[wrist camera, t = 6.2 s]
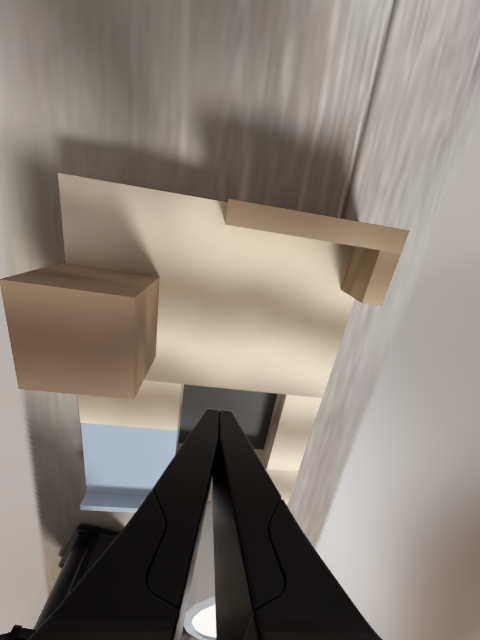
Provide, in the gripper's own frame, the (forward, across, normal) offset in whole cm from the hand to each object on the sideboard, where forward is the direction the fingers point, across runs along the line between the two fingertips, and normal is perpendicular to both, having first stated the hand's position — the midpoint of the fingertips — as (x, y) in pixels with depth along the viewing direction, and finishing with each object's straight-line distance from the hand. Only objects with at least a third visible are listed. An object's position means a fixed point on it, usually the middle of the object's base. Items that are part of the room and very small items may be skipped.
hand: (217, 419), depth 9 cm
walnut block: (+7, +6, 0) cm, 10 cm away
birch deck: (+9, +1, +4) cm, 10 cm away
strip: (+9, +5, +12) cm, 16 cm away
